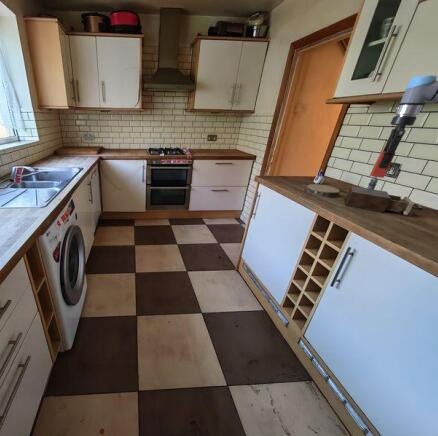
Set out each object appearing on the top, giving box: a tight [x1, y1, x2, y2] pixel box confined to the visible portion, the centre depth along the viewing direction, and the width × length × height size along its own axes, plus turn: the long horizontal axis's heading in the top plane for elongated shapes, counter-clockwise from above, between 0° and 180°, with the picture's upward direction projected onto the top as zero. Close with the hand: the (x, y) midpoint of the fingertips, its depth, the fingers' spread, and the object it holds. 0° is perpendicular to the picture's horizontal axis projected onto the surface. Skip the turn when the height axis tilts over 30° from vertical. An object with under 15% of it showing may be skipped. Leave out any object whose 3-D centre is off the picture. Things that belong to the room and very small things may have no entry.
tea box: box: [370, 150, 396, 179], centre depth 112 cm, size 4×4×12 cm
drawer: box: [385, 194, 424, 216], centre depth 114 cm, size 18×12×6 cm
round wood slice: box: [306, 183, 340, 198], centre depth 138 cm, size 16×16×3 cm
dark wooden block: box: [345, 185, 391, 213], centre depth 120 cm, size 15×14×8 cm
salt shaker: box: [366, 177, 379, 190], centre depth 133 cm, size 6×6×12 cm
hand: (381, 167), depth 113 cm, fingers closed on tea box, 4 cm apart
